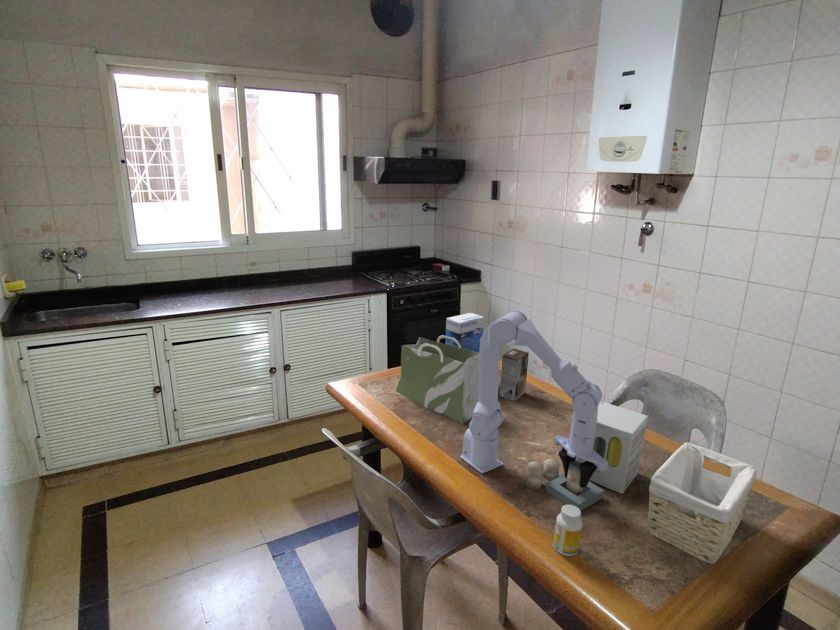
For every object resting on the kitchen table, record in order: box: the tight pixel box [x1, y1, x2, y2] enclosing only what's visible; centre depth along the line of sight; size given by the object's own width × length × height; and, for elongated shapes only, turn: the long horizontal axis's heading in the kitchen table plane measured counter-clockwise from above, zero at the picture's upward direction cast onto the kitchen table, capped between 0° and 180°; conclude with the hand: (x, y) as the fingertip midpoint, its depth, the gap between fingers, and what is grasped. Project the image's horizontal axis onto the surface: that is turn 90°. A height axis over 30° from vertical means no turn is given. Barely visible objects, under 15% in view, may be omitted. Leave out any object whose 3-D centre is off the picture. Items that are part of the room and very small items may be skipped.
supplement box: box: [575, 400, 649, 495], centre depth 132 cm, size 13×13×18 cm
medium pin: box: [525, 460, 544, 490], centre depth 128 cm, size 4×4×6 cm
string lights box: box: [444, 312, 485, 353], centre depth 187 cm, size 13×8×26 cm, turn 130°
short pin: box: [543, 458, 561, 482], centre depth 132 cm, size 4×4×4 cm
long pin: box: [565, 460, 583, 496], centre depth 124 cm, size 4×4×8 cm
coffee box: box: [498, 348, 529, 402], centre depth 178 cm, size 9×6×16 cm
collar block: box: [545, 473, 605, 511], centre depth 125 cm, size 10×10×2 cm
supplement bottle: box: [552, 504, 583, 557], centre depth 106 cm, size 5×5×10 cm
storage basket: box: [646, 442, 757, 565], centre depth 113 cm, size 24×16×15 cm
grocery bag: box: [395, 334, 479, 425], centre depth 170 cm, size 32×14×23 cm, turn 46°
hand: (575, 481), depth 124 cm, fingers closed on long pin, 4 cm apart
